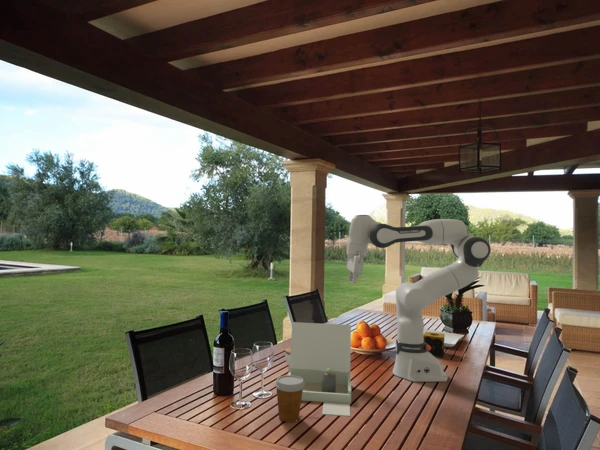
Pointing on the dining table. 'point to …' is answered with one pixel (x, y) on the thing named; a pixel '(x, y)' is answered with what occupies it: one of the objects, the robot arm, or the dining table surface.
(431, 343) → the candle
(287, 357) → the lidded jar
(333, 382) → the nursery pot
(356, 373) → the dining table surface
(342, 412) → the stone tile
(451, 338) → the square plate
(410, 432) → the dining table surface
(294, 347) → the pale grey-green hollow box
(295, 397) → the disposable coffee cup
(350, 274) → the robot arm
